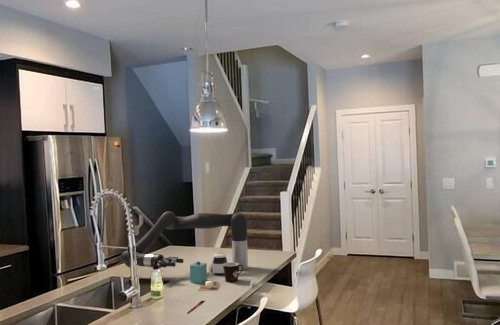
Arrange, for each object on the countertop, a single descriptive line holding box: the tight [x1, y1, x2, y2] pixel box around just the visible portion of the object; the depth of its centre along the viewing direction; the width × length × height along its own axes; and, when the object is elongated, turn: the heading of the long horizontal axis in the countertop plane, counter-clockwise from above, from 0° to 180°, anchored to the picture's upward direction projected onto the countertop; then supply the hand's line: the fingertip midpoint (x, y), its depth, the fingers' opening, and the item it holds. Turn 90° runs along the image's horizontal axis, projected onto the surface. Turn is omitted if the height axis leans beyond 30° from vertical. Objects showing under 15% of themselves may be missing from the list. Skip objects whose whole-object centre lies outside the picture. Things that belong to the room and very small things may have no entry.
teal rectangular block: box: [189, 261, 208, 284], centre depth 235 cm, size 7×7×11 cm
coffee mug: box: [223, 261, 244, 284], centre depth 234 cm, size 12×9×10 cm
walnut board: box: [197, 284, 222, 292], centre depth 222 cm, size 10×10×1 cm
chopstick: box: [186, 300, 206, 314], centre depth 201 cm, size 2×24×1 cm, turn 162°
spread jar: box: [208, 252, 228, 276], centre depth 254 cm, size 12×11×12 cm
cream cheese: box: [204, 280, 214, 289], centre depth 222 cm, size 4×4×3 cm
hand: (179, 262), depth 239 cm, fingers open, 8 cm apart
